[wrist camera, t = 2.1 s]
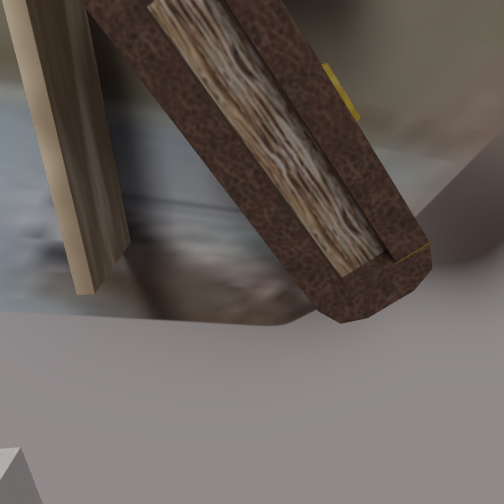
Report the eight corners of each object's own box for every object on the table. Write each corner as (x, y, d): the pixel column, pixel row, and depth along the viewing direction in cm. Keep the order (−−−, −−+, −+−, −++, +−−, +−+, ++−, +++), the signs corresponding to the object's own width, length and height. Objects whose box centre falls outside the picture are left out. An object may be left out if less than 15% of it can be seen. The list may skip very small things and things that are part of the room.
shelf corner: (117, 243, 47) (57, 320, 32) (29, -189, 33) (-145, -400, 19) (309, 229, 47) (338, 300, 32) (299, -213, 33) (342, -448, 18)
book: (351, 162, 44) (467, 258, 21) (282, 210, 46) (319, 346, 23) (219, -45, 37) (174, -246, 14) (144, 20, 39) (-5, -61, 16)
